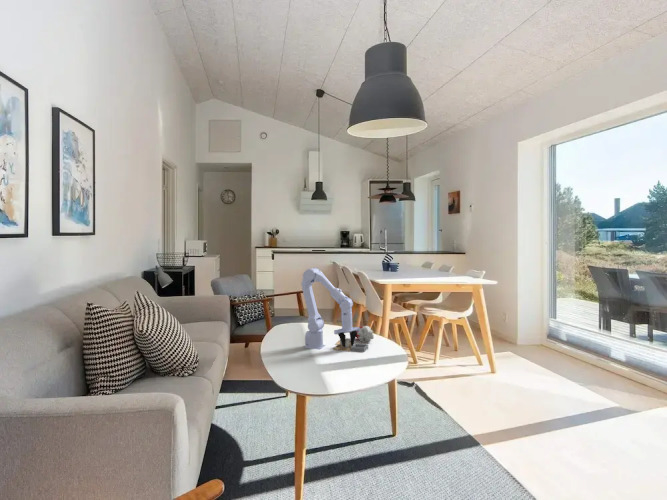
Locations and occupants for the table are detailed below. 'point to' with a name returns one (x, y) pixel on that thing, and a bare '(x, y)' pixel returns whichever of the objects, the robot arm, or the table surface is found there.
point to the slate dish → (359, 347)
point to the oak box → (342, 348)
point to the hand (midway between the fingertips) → (347, 345)
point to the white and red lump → (365, 334)
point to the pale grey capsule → (347, 343)
